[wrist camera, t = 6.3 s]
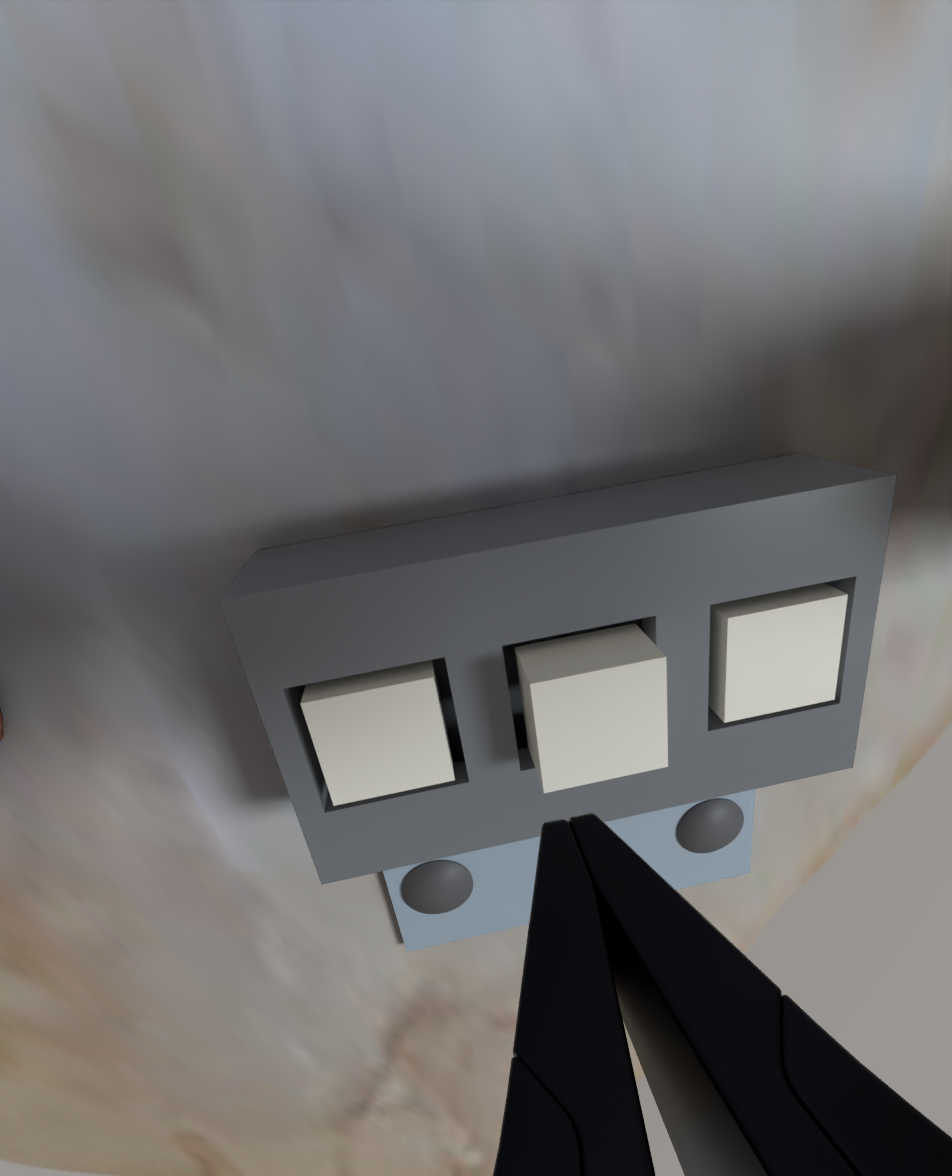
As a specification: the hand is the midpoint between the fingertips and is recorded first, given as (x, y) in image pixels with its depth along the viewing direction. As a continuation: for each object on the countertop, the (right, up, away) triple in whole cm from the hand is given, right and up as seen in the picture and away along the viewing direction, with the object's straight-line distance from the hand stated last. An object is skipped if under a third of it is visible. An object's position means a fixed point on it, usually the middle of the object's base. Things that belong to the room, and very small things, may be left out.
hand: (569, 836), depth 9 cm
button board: (+1, +2, +11) cm, 11 cm away
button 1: (-4, 0, +9) cm, 10 cm away
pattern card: (+3, -7, +15) cm, 17 cm away
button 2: (+7, +2, +9) cm, 12 cm away
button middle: (+2, +1, +8) cm, 8 cm away
